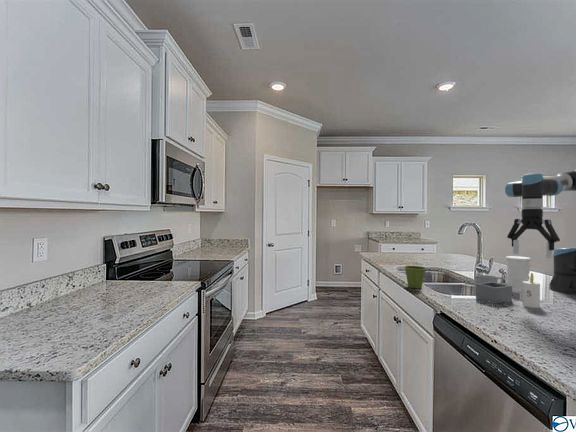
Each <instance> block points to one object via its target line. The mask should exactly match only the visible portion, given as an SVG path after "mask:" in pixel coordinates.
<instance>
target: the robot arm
mask: <svg viewBox="0 0 576 432" xmlns="http://www.w3.org/2000/svg"><path fill="white" fill-rule="evenodd" d="M567 191H569V192H570V191H571V192H576V169H573V170H570V171H565V172H561V173H557V174H555V175H553V176H547V177H546V176H545V177H544V175H543V174H542V173H526V174H523V175H522V178H521V181H520V180H519V181H512V182H507V184H506V185H505V187H504V192H505V195H506V196H507V197H510V198H519V197H520V198H521V208H522V209H521V218H515V219H514V223H513V225H512V226H511V228H510V230H509V232H508V234H507V236H506V237H507V239H510V240H511V247H512V249H513V250H512V251H513V252H512V254H513V255H519V254H520V253H519V251H520V247H519V246H520V241H519V238H520V236H522V234H524V232H525V231H526V230H536V231H538V232H539V233H540V234H541V235H542V236H543V237H544V239H545V240H546V241H547V242H546V244H545V245H546V246H545V249H546V250H545V257H546V258H545V259H551V258H552V257H553V275H552V278H551V280H550V282H549V284H548V285H549V290H552V291H556V292H559V293H565V294H573V295H574V294H575V295H576V247H557V248H555V243H557V242H560V237H559V235H558V234H557V232H556V230H555V228H554V226H553V225H552V220H551V219H543V217H544V210H543V209H542V208H544V197H545V196H547V197H553V196H558V195H559V194H561V193H562V192H567ZM521 224H522V225H521ZM520 225H521V226H520ZM543 225H544V226H545V227H544V226H543ZM519 227H520V228H519ZM545 228H546V229H545ZM547 231H548V232H547Z"/></svg>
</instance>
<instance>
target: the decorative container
mask: <svg viewBox="0 0 576 432" xmlns="http://www.w3.org/2000/svg"><path fill="white" fill-rule="evenodd" d="M505 260H506V261H507V262H506V269H505V270H506V275H505V276H506V285H509V286H512V293H513V292H515V294H521V295H522V282H523V281H530V277H531V276H530V274H531V271H530V269H529V268H530V266H531V265H530V262H531V257H528V256H520V255H519V256H518V255H507V256H505Z"/></svg>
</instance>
